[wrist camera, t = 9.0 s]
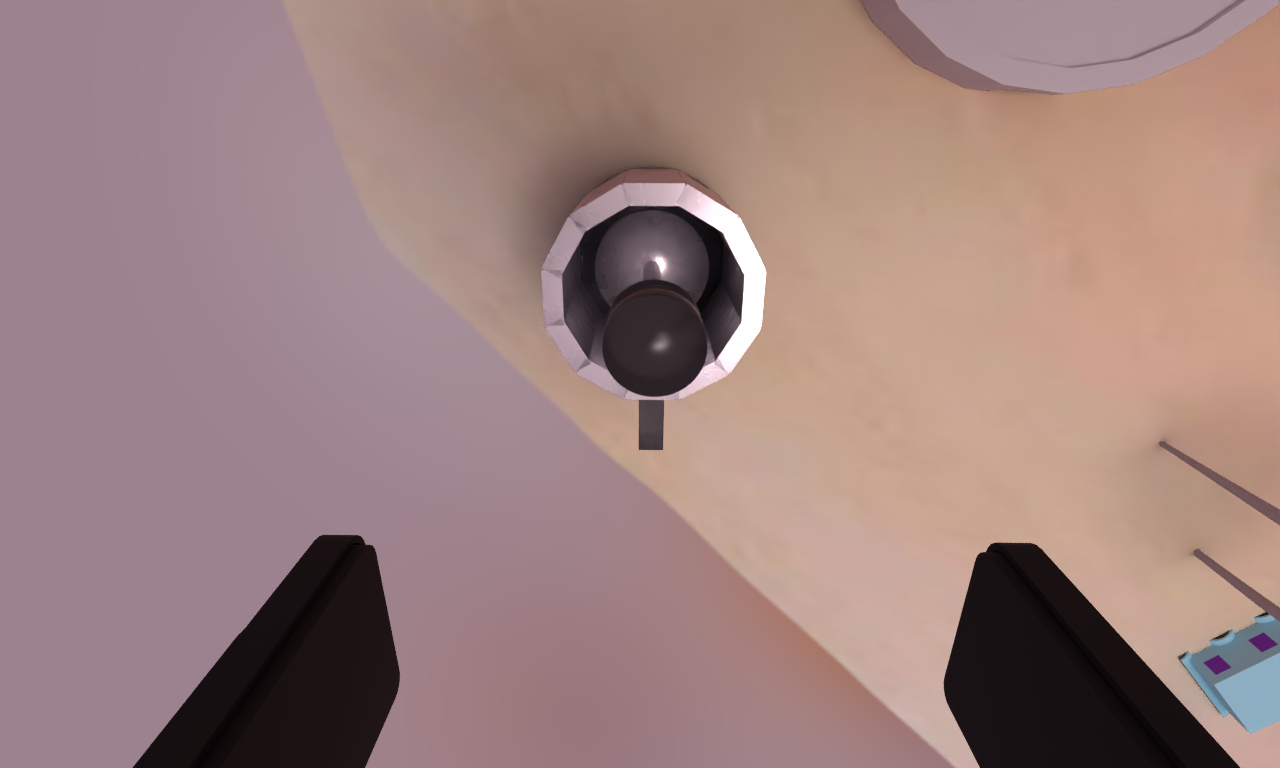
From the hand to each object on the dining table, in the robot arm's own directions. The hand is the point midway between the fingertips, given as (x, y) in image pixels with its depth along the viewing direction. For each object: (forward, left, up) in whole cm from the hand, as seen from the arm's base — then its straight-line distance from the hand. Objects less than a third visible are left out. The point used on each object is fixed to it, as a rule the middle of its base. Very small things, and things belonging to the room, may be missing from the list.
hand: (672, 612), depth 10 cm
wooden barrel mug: (+2, 0, -28) cm, 28 cm away
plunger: (0, 0, -26) cm, 26 cm away
